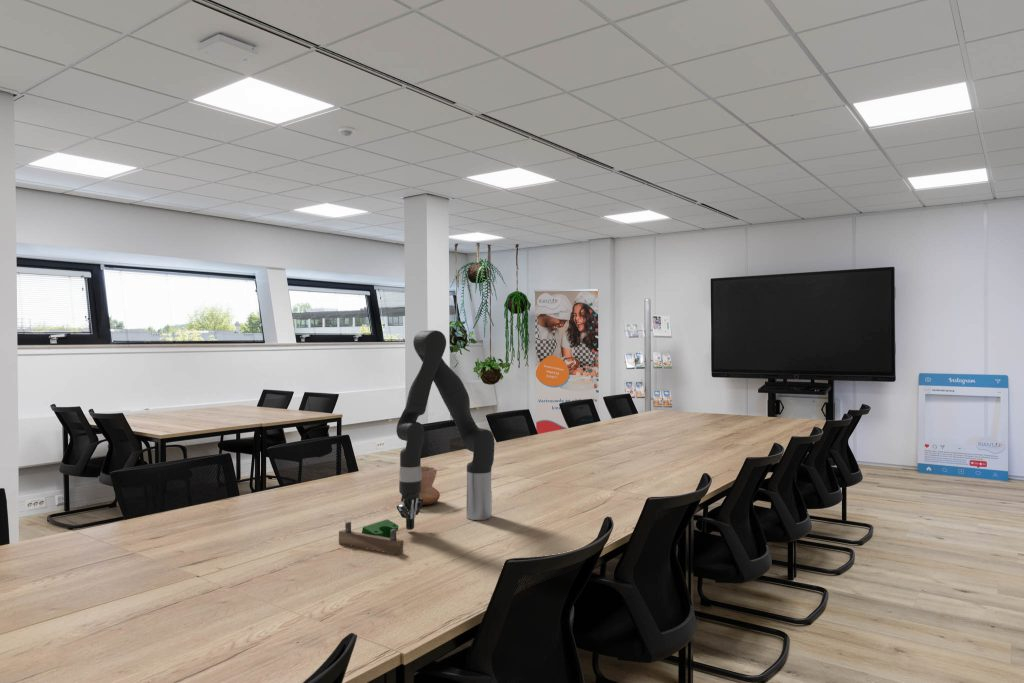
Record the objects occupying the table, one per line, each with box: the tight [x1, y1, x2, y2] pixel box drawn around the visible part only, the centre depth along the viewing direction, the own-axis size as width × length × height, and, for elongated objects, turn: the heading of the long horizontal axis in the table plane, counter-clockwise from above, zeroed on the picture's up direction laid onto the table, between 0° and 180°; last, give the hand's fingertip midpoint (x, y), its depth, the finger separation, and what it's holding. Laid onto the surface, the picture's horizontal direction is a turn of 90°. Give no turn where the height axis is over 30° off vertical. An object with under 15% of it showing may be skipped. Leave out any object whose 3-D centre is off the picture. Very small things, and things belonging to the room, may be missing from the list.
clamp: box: [361, 519, 399, 538], centre depth 210 cm, size 12×6×9 cm, turn 141°
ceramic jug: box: [419, 465, 441, 506], centre depth 261 cm, size 18×14×14 cm
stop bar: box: [338, 521, 404, 556], centre depth 203 cm, size 2×24×7 cm, turn 63°
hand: (410, 529), depth 222 cm, fingers closed
